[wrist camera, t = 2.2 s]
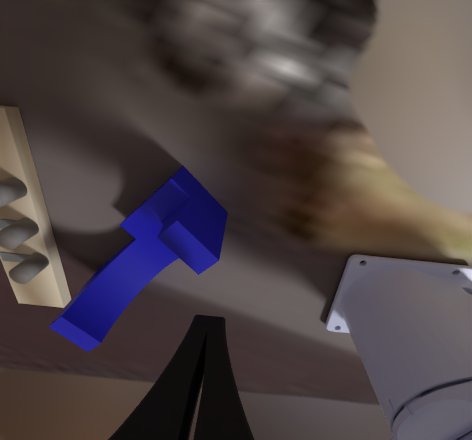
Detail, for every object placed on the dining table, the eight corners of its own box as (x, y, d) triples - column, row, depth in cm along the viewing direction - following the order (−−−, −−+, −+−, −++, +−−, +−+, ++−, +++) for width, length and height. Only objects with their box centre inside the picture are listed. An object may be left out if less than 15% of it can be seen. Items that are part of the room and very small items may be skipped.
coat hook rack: (18, 107, 16) (-30, 109, 13) (71, 299, 23) (47, 326, 20) (-46, 100, 16) (-107, 101, 13) (27, 294, 23) (-3, 321, 20)
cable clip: (183, 165, 17) (153, 197, 12) (227, 211, 18) (219, 260, 13) (84, 257, 21) (27, 313, 15) (126, 289, 22) (88, 351, 17)
